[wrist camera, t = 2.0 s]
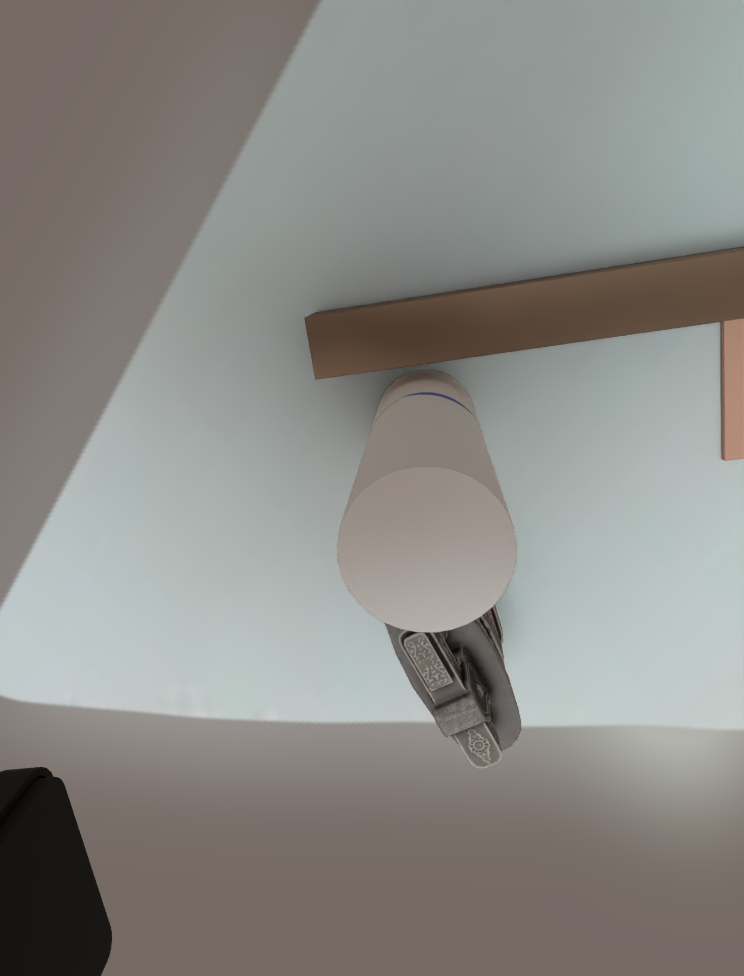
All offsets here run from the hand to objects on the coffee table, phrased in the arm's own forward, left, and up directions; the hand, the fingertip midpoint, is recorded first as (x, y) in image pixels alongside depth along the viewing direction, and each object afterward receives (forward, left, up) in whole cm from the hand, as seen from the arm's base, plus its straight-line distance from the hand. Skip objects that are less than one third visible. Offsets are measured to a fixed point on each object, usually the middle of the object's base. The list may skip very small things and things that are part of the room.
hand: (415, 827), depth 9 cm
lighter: (+8, 0, -24) cm, 25 cm away
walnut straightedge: (-4, +8, -23) cm, 25 cm away
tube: (0, 0, -23) cm, 23 cm away
